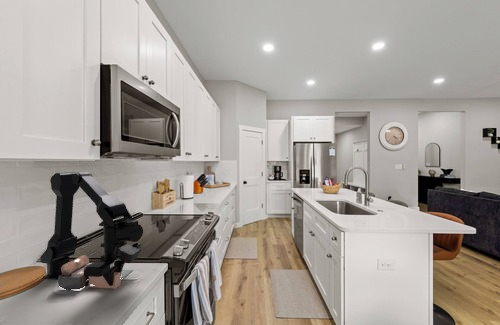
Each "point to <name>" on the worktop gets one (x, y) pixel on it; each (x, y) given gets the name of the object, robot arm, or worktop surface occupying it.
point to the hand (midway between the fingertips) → (114, 283)
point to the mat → (126, 273)
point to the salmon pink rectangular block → (102, 282)
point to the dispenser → (74, 273)
